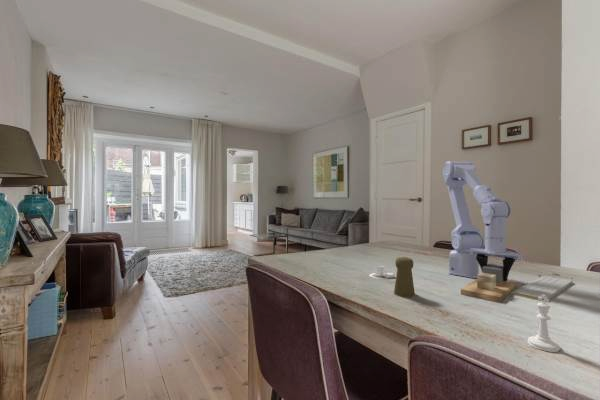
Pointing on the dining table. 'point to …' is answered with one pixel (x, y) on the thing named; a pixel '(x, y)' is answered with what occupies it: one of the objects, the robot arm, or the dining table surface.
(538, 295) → the baseboard
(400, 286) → the cork
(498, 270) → the block
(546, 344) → the chess piece
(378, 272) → the teacup and saucer
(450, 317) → the dining table surface
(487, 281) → the beige cube
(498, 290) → the board
